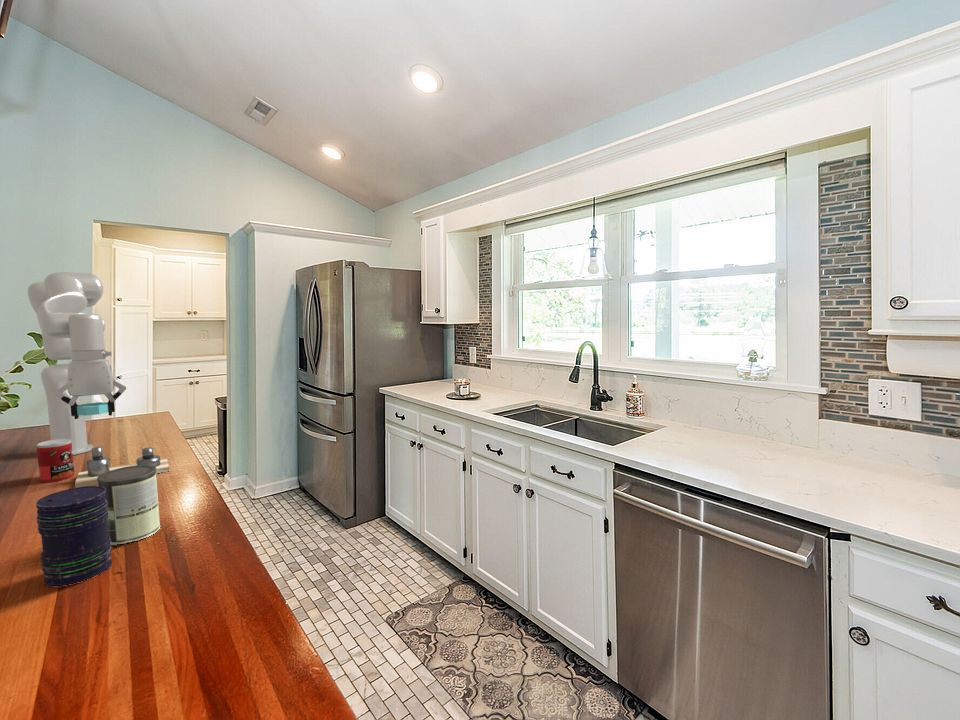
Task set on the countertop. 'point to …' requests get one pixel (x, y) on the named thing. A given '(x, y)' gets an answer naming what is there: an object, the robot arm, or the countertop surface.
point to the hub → (148, 458)
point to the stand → (97, 463)
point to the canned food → (55, 460)
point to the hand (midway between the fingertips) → (93, 416)
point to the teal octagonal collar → (92, 408)
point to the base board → (88, 481)
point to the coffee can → (131, 503)
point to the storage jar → (74, 535)
